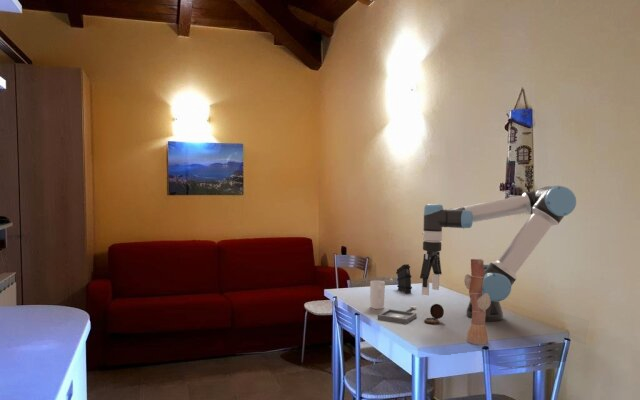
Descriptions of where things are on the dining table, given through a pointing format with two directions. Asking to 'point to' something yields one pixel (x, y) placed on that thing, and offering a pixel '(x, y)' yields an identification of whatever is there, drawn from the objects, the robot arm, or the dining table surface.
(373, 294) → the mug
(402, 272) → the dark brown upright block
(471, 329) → the brown tall piece
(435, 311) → the compass
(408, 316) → the grey square tray
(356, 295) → the dining table surface
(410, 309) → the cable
